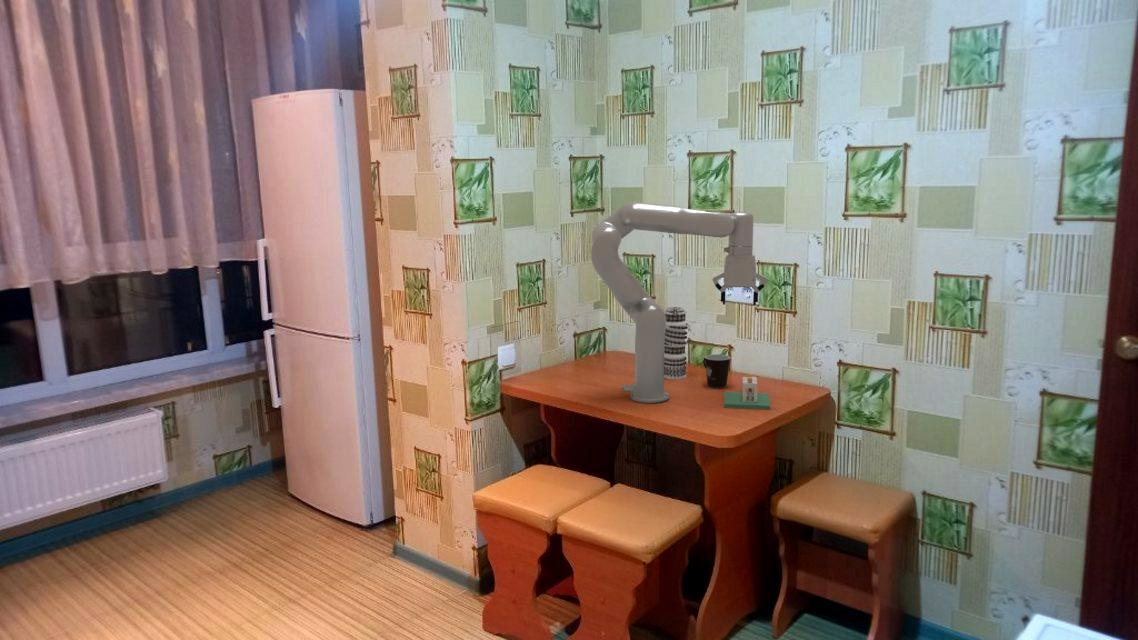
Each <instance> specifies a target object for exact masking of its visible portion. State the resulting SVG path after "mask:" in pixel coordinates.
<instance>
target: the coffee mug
mask: <svg viewBox="0 0 1138 640" xmlns="http://www.w3.org/2000/svg"><path fill="white" fill-rule="evenodd" d="M702 360H703V361H702V364H703V366H704V368H705V371H706V382H707V387H709V388H712V389H723V387H724V388H727V386H728V385H727V383H728V377H729V370H730V364H731V363H730V361H731V356H729V355H725V354H717V353H716V354H715V353H714V354H708V355H705V356H704V357H703V359H702Z"/></svg>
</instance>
